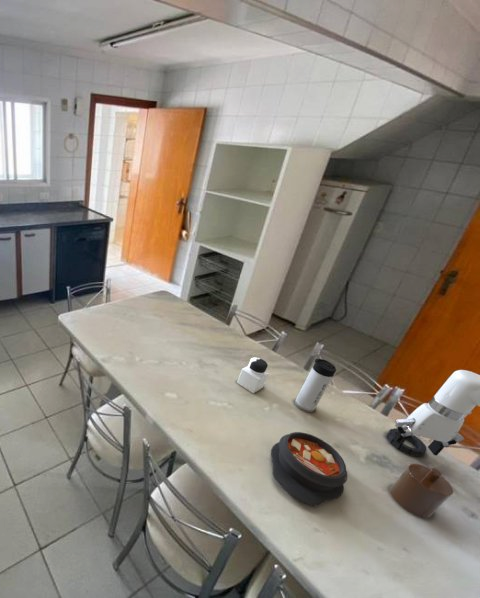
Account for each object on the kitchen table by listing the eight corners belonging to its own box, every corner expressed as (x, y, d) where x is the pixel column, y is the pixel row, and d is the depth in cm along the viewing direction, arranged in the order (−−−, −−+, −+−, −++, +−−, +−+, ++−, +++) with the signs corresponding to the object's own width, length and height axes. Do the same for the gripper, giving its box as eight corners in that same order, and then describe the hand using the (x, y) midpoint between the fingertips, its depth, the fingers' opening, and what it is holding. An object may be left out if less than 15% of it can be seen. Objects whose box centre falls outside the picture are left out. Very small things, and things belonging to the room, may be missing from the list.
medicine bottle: (263, 387, 129) (273, 363, 124) (253, 394, 125) (263, 369, 120) (246, 376, 134) (255, 353, 129) (236, 382, 130) (245, 358, 125)
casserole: (328, 527, 83) (343, 508, 79) (254, 474, 95) (264, 455, 91) (350, 469, 99) (363, 451, 95) (284, 430, 111) (293, 412, 107)
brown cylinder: (418, 491, 94) (445, 462, 88) (439, 522, 86) (469, 492, 80) (383, 482, 96) (407, 452, 90) (400, 511, 88) (427, 481, 82)
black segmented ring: (411, 437, 112) (415, 432, 111) (429, 460, 104) (433, 455, 103) (380, 430, 114) (384, 425, 113) (395, 452, 106) (399, 447, 105)
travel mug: (294, 397, 126) (315, 355, 116) (314, 405, 122) (337, 362, 113) (292, 406, 121) (314, 363, 112) (313, 415, 118) (337, 372, 109)
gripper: (472, 407, 98) (438, 445, 106) (406, 391, 101) (377, 429, 109) (493, 426, 91) (454, 465, 99) (421, 409, 95) (389, 448, 103)
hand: (414, 446), depth 104 cm, fingers open, 9 cm apart
